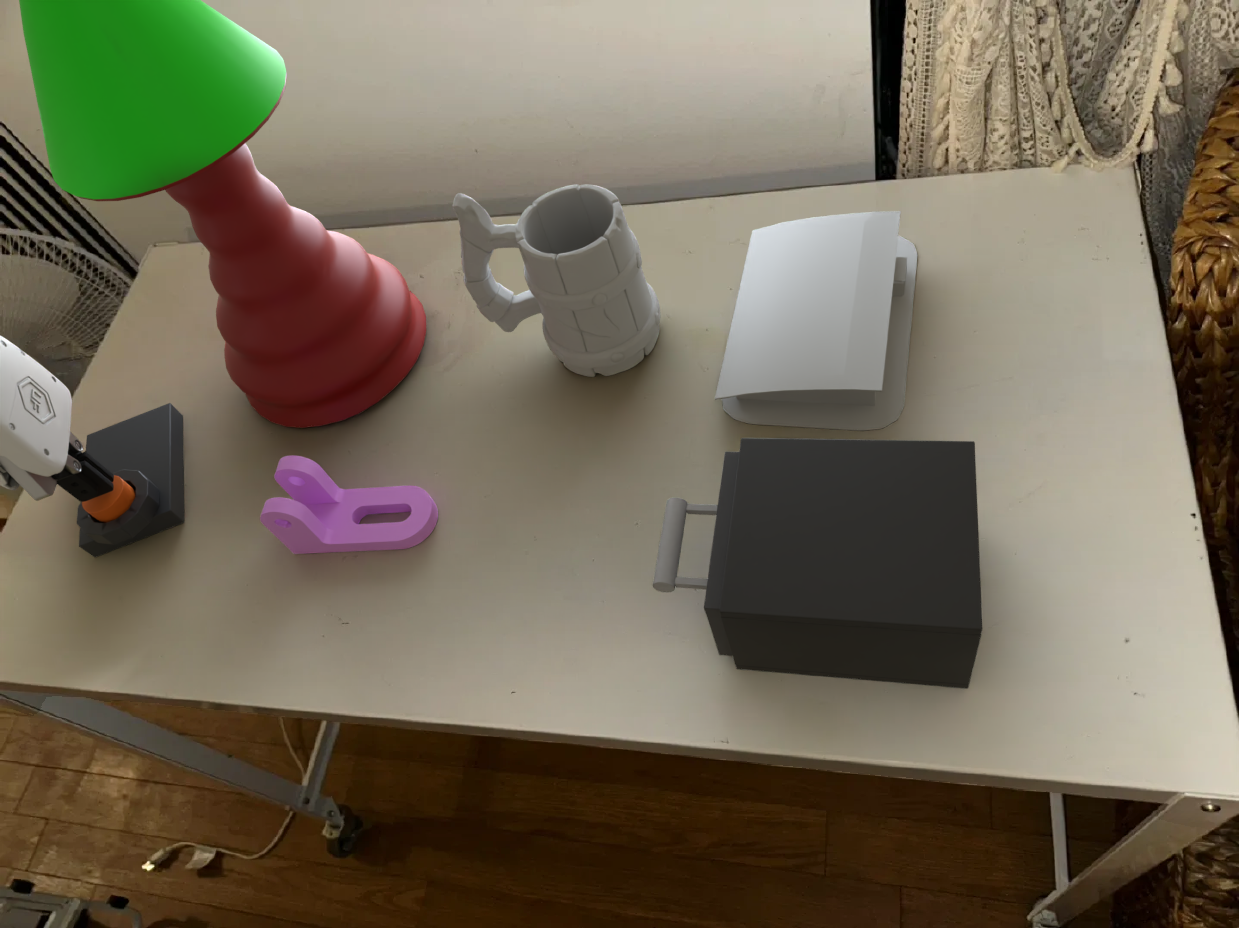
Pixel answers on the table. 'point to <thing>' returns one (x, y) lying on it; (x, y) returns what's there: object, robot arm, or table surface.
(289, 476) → the bracket
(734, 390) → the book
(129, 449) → the control block
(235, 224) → the table lamp
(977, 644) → the dark grey drawer cabinet
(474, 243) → the mug
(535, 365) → the table surface
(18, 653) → the table surface
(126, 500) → the button
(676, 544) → the dark grey drawer
